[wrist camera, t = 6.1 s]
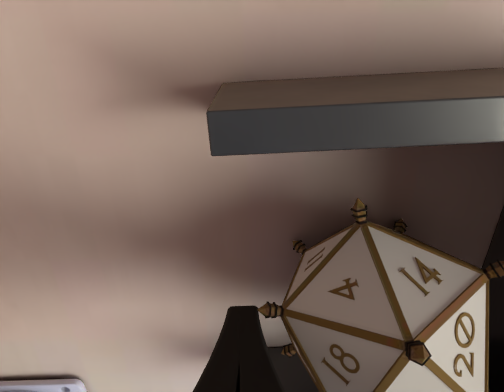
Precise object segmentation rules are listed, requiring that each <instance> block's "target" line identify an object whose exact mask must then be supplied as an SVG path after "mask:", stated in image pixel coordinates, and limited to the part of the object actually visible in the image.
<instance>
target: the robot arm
mask: <svg viewBox="0 0 504 392" xmlns="http://www.w3.org/2000/svg"><path fill="white" fill-rule="evenodd" d="M257 309H258V307H256V306H232V307H230V308H228V311H227V315H226V318H225V322H224V325H223V328H222V330H221V333H220V336H219V338H218V341H217V343H216V345H215V348H214V350H213V352H212V354H211V357H210V359H209V361H208V363H207V365H206V367H205V369H204V371H203V373H202V375H201V377H200V379H199V381H198V383H197V385H196V387H195V388H194V390H193V392H285V390H284V388H283V386H282V383H281V381H280V379H279V376H278V374H277V372H276V369H275V367H274V365H273V362H272V359H271V357H270V354H269V351H268V348H267V346H266V343H265V339H264V336H263V333H262V329H261V325H260V320H259V314H258V310H257ZM0 392H87V390H86V388H85V386H84V384H83V382H82V381H81V380H79V379H49V380H18V381H0Z"/></svg>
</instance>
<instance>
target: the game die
mask: <svg viewBox="0 0 504 392" xmlns="http://www.w3.org/2000/svg"><path fill="white" fill-rule="evenodd" d="M351 210H352V211H353V214H352V216H353V217H355V219H356V223H354V224H352V225H351V226H349V227H347V228H345V229H343V230H341V231H340V232H338V233H336V234H334V235H332V236H331V237H329V238H327V239H325V240H323V241H322V242H320V243H318V244H316V245H314V246H312V247H311V248H309V249H307V248H306V247H305V244H303V243H302V241H301V240H300V241H293V247H294V248H293V250H296V251H297V253H302V257H301V260H300V262H299V264H298V267H297V269H296V272H295V274H294V276H293V279H292V281H291V284H290V286H289V289H288V291H287V293H286V296H285V298H284V301H283V303H282V306H278V305H276V304H275V302H273V304H271V303H269V302H268V301H267V303H266V304H265V305H263V306H262V307H260V308H259V309H257V310H258V311H259V312H260V313H262V314H263V315H264V316H265V318H270V317H271V318H276V317H277V316H281V318H282V321H283V323H284V325H285V328H286V330H287V332H288V335H289V337H290V339H291V342H292V344H289V345H286V346H283V350H282V353H281V354H283V355H286V356H287V357H289V358H291V356H294V355H295V353H296V352H297V354H298V356H299V358H300V359H301V361H302V363H303V364H304V366H305V368H306V370H307V371H308V373H309V375H310V376H311V378H312V380H313V382H314V383H315V385H316V387H317V388H318V390H319V392H488V365H489V279H491V278H495V277H498V278H501V276H504V261H499V260H497V262H495V263H493V264H491V263H489V264H490V265H489V266H488V267H487V268H486V269H480V268H478V267H476V266H474V265H471V264H469V263H467V262H465V261H462V260H460V259H458V258H456V257H454V256H451V255H449V254H447V253H445V252H442V251H440V250H438V249H436V248H434V247H431V246H429V245H427V244H425V243H422V242H420V241H418V240H416V239H414V238H411V237H409V236H407V235H405V234H403V232H405V231H406V230H405V228H406V227H407V225H406V224H405V223H404V221H403V219H400V220H398V221H395V225H394V230H392V229H389V228H386V227H383V226H380V225H378V224H375V223H372V222H369V221H366V217H367V211H366V210H367V205H364V204H363V203H362V202H361V201H360V200H359V199H358V198H357V200H356V202H355V204H354V206H353V208H351Z"/></svg>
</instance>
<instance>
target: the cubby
mask: <svg viewBox="0 0 504 392" xmlns="http://www.w3.org/2000/svg"><path fill="white" fill-rule="evenodd" d="M206 115H207V124H208V132H209V141H210V150H211V155H212V156H227V155H248V154H268V153H289V152H310V151H330V150H351V149H371V148H392V147H413V146H433V145H454V144H475V143H495V142H504V68H491V69H472V70H453V71H435V72H416V73H398V74H379V75H360V76H342V77H323V78H305V79H286V80H268V81H249V82H230V83H223V84H222V85H221V87H220V89H219V91H218V93H217V94H216V96H215V98H214V100H213V101H212V103H211V105H210V107H209V108H208V110H207V112H206ZM497 260H499V261H504V208H503V211H502V214H501V217H500V219H499V222H498V225H497V228H496V231H495V234H494V237H493V240H492V242H491V245H490V248H489V251H488V254H487V257H486V260H485V263H484V265H483V268H482V269H486V268H487V267H488V266H489V265H490V264H489V263H491V264H493V263H495V262H497ZM282 350H283V348H268V351H269V354H270V357H271V359H272V362H273V365H274V367H275V369H276V372H277V374H278V376H279V379H280V381H281V383H282V386H283V388H284V390H285V392H319V390H318V388H317V387H316V385H315V383H314V382H313V380H312V378H311V376H310V375H309V373H308V371H307V370H306V368H305V366H304V364H303V363H302V361H301V359H300V358H299V356H298V354H297V352H296V353H295V355H294V356H291V358H289V357H287V356H286V355H283V354H281V353H282ZM488 392H504V276H501V278H498V277H495V278H491V279H489V365H488Z"/></svg>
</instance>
